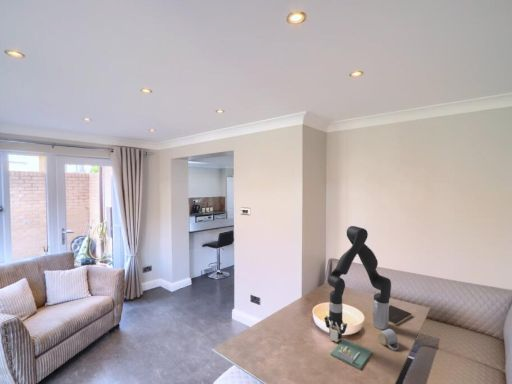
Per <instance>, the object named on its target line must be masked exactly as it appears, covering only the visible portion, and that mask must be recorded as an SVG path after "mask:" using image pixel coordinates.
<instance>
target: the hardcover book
mask: <svg viewBox="0 0 512 384" xmlns="http://www.w3.org/2000/svg"><path fill="white" fill-rule="evenodd" d="M412 315H413V313H411V312H409V311H406V310H403V309H402V308H399V307H397V306H394V305H392V304H391V305H390V304H389V322H388V324H390V325H393V326H396V325H398V324H400V323H402V322H403V321H405V320H407V319H409V318H410V317H412Z"/></svg>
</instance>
